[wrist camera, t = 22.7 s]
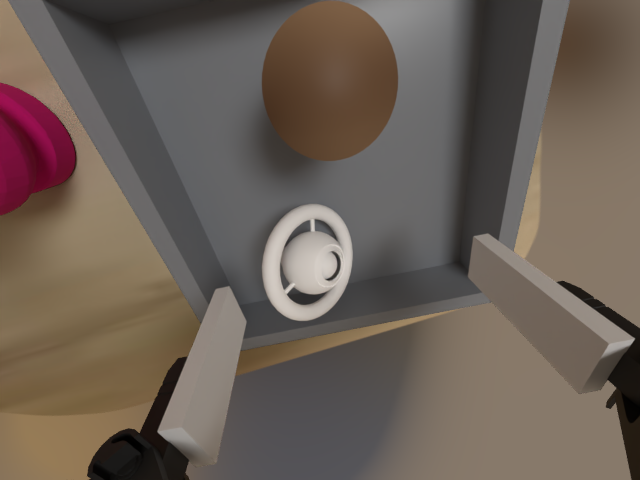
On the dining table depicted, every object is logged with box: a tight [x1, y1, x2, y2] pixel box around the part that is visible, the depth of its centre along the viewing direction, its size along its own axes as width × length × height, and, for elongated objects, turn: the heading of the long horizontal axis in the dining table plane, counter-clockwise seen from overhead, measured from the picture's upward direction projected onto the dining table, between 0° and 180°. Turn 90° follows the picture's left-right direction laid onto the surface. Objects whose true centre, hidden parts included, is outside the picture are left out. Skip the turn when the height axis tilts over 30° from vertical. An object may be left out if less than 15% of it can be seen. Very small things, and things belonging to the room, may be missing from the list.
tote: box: [8, 0, 570, 351], centre depth 17 cm, size 22×22×5 cm
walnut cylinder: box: [262, 1, 398, 161], centre depth 12 cm, size 5×5×7 cm
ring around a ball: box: [262, 204, 353, 321], centre depth 18 cm, size 8×6×8 cm
